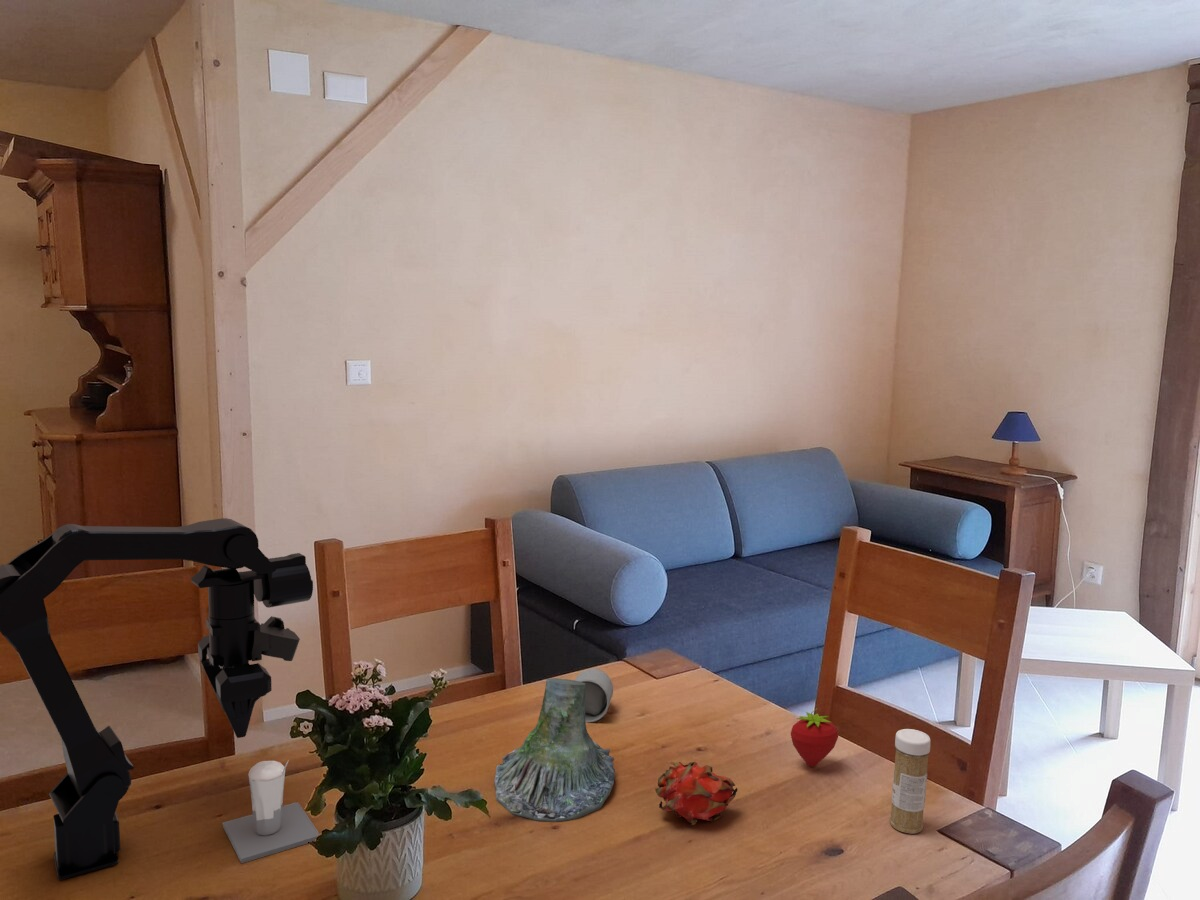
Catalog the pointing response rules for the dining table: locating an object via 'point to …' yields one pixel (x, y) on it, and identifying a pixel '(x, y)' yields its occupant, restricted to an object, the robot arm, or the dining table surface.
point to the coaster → (255, 846)
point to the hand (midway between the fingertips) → (234, 723)
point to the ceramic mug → (596, 693)
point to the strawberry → (813, 738)
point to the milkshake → (267, 795)
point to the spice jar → (909, 780)
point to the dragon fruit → (695, 792)
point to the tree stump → (556, 762)
